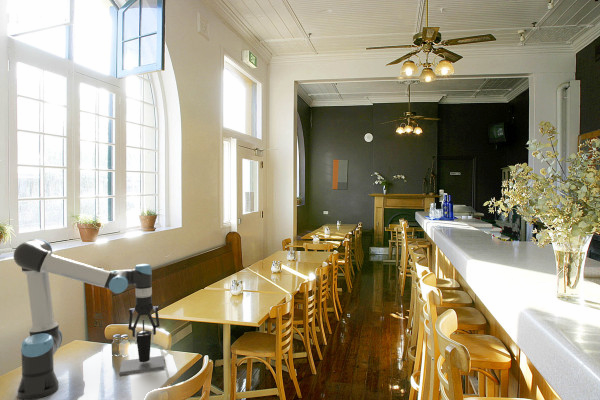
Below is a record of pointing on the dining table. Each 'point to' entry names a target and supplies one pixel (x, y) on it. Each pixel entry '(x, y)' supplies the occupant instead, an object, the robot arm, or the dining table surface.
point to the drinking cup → (144, 344)
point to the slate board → (142, 365)
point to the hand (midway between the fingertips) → (144, 342)
